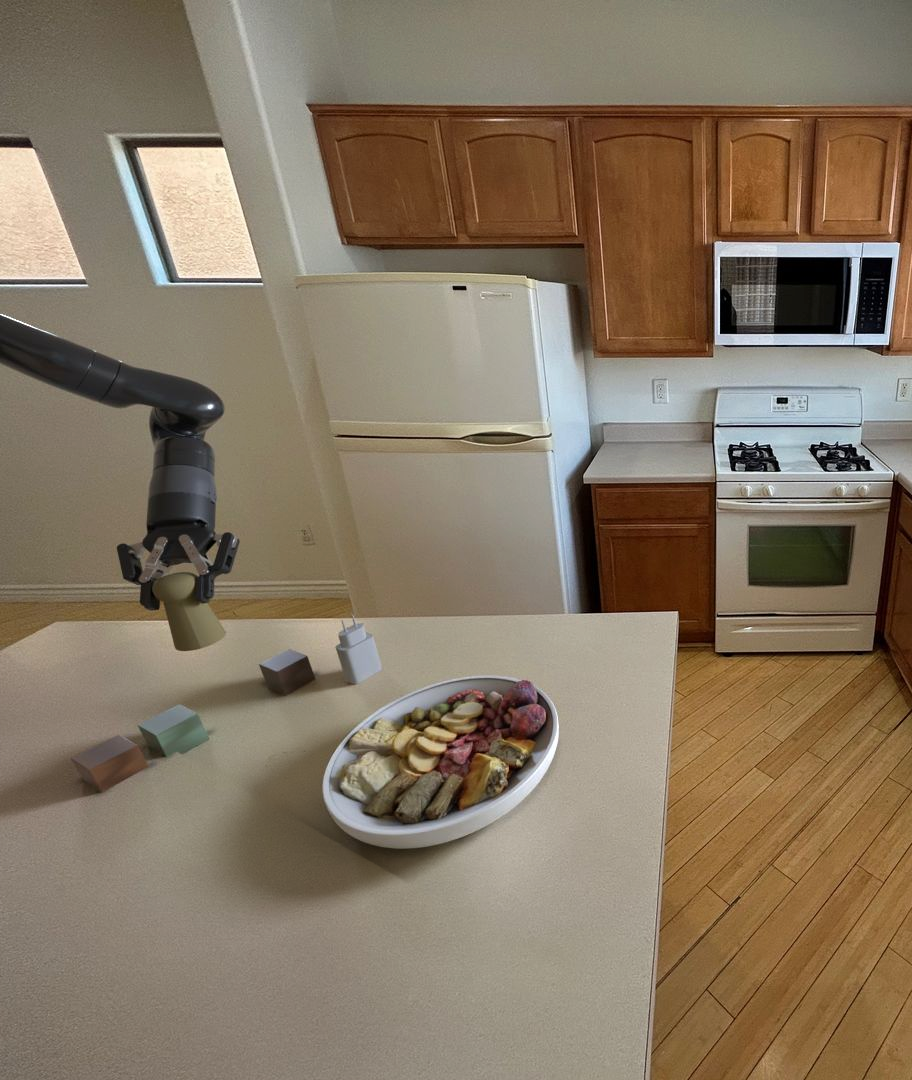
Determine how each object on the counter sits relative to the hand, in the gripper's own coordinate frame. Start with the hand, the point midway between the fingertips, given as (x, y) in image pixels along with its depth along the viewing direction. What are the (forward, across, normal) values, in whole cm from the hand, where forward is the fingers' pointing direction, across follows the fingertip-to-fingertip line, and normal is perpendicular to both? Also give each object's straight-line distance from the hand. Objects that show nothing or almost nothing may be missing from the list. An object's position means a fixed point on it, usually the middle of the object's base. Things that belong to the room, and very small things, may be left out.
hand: (177, 605), depth 80 cm
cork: (+4, 0, +6) cm, 8 cm away
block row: (+16, -2, +14) cm, 21 cm away
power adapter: (+12, +18, +19) cm, 29 cm away
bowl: (+32, +34, -2) cm, 47 cm away
